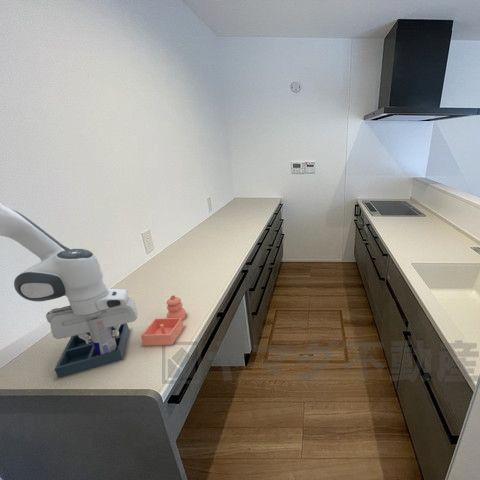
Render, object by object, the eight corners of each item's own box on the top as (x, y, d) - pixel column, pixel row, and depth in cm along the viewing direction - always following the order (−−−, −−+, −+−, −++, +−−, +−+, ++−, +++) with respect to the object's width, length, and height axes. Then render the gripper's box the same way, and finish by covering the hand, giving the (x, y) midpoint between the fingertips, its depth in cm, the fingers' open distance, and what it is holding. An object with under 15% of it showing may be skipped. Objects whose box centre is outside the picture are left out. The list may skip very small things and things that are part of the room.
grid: (58, 378, 76) (54, 369, 75) (74, 344, 89) (71, 335, 88) (122, 359, 83) (119, 351, 82) (129, 330, 96) (126, 322, 95)
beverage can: (113, 345, 88) (101, 307, 82) (121, 351, 85) (109, 313, 80) (95, 355, 84) (81, 316, 78) (102, 362, 81) (88, 322, 76)
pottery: (172, 344, 89) (166, 321, 86) (143, 345, 89) (136, 321, 85) (193, 312, 106) (189, 291, 103) (169, 313, 106) (164, 292, 102)
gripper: (38, 317, 70) (56, 357, 75) (130, 298, 79) (140, 335, 84) (48, 305, 75) (63, 343, 80) (133, 288, 85) (142, 323, 89)
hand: (103, 339), depth 82 cm, fingers closed on beverage can, 5 cm apart
